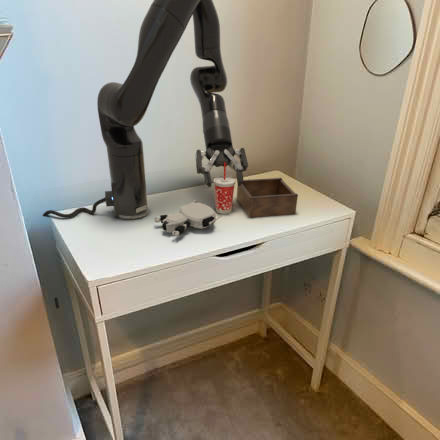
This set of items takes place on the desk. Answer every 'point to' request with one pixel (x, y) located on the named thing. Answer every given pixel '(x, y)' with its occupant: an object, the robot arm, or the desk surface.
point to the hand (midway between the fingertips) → (225, 185)
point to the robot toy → (188, 218)
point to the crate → (266, 197)
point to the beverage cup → (224, 193)
